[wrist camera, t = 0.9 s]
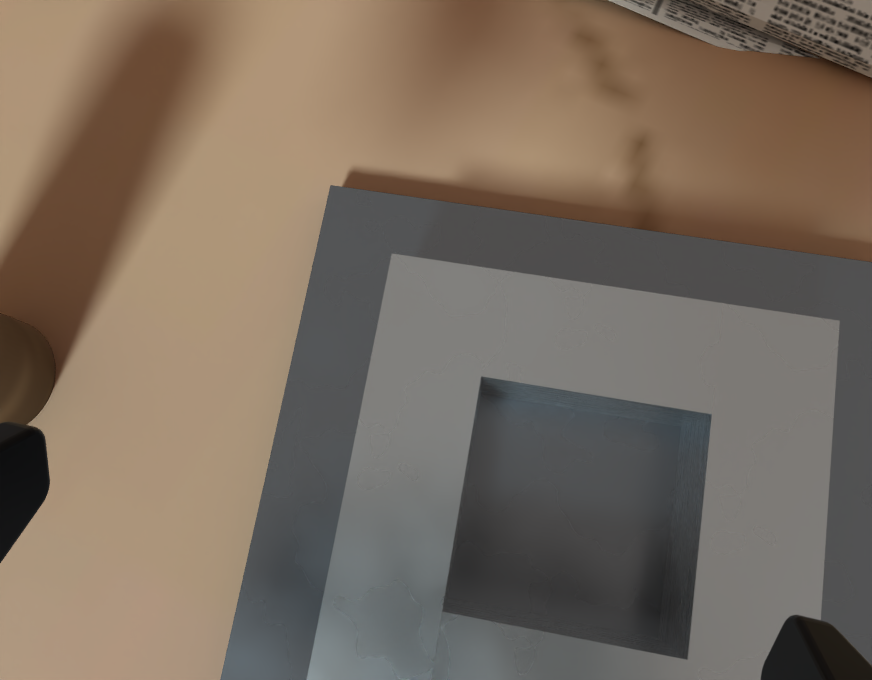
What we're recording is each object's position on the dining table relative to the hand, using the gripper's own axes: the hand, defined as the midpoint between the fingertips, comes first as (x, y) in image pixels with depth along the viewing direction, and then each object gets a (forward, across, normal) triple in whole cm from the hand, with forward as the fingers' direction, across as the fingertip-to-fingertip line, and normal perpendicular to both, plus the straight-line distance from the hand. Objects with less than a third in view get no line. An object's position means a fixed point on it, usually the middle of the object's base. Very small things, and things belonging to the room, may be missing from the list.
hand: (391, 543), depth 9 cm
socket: (+12, -3, +8) cm, 15 cm away
